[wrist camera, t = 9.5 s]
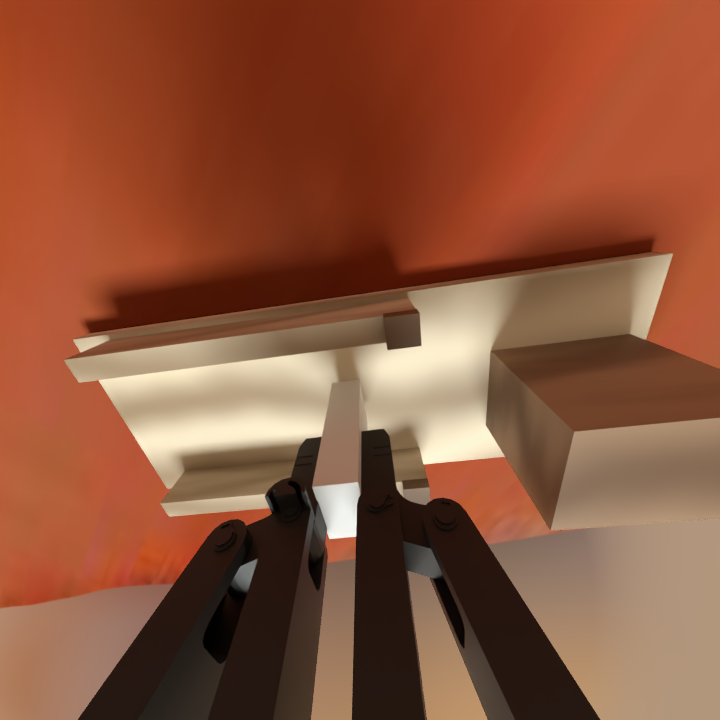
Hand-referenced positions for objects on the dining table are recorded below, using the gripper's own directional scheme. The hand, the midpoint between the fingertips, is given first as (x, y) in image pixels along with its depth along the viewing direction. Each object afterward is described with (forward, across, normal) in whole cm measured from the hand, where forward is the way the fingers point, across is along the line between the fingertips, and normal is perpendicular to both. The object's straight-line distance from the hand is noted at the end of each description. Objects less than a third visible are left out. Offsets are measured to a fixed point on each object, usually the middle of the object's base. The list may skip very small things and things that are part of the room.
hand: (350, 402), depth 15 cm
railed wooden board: (+2, +1, 0) cm, 2 cm away
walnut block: (+1, +11, -1) cm, 11 cm away
